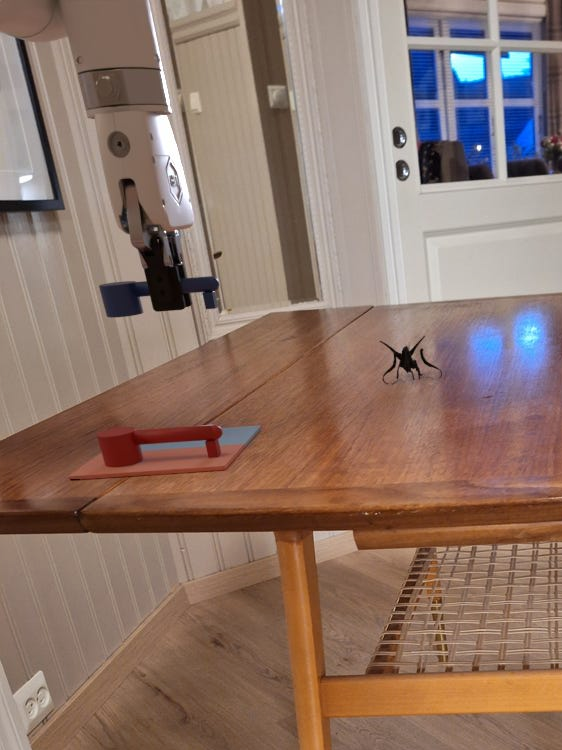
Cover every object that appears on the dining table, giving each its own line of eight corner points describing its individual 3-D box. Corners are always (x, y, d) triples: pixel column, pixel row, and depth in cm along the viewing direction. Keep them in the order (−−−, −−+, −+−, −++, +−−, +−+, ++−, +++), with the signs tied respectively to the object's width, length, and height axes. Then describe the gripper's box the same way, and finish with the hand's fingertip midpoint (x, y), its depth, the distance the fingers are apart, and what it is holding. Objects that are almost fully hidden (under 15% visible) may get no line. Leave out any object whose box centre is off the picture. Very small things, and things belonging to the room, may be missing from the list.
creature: (447, 389, 111) (432, 364, 117) (446, 348, 108) (431, 325, 113) (387, 396, 110) (375, 371, 115) (384, 355, 106) (372, 332, 112)
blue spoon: (101, 318, 87) (93, 286, 86) (114, 313, 90) (106, 282, 89) (219, 309, 87) (212, 277, 86) (228, 305, 90) (222, 273, 89)
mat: (69, 480, 82) (68, 476, 82) (126, 438, 95) (125, 434, 95) (225, 469, 81) (224, 465, 81) (261, 428, 95) (260, 425, 94)
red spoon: (99, 468, 83) (90, 437, 82) (113, 457, 87) (105, 428, 85) (222, 460, 83) (215, 429, 82) (231, 449, 86) (225, 419, 85)
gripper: (137, 86, 73) (187, 317, 82) (190, 100, 87) (228, 296, 95) (49, 94, 73) (109, 323, 82) (117, 107, 87) (161, 302, 96)
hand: (173, 307), depth 88 cm, fingers closed on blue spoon, 1 cm apart
